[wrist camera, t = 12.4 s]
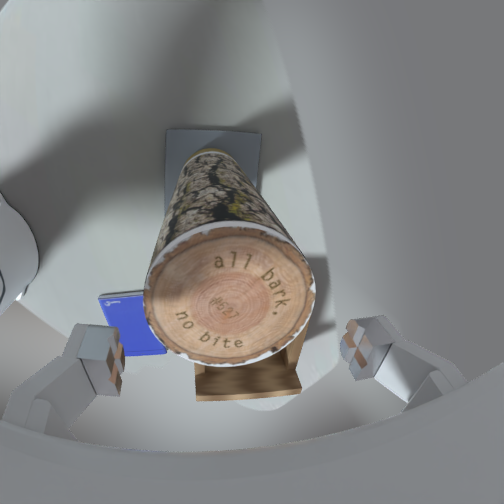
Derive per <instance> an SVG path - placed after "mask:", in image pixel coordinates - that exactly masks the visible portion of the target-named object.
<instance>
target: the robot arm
mask: <svg viewBox="0 0 504 504" xmlns="http://www.w3.org/2000/svg"><path fill="white" fill-rule="evenodd" d="M38 261H39V260H38V250H37V245H36V242H35V239H34V236H33V234H32V232H31V230H30V228H29V226H28V225H27V223H26V222H25V220H24V219H23V218H22V216H21V215H20V214H19V213H18V212H17V211H15V210H14V209H13V208H12V207H10V206H9V205H8V204H7V203H6V201H5V199H4V198H3V196H2V194H1V193H0V315H1V314H2V313H3V312H4V311H5V310H6V309H7V308H8V306H9V305H10V304H11V303H12V302H13V301H14V300H20V299H21V298H22V297H23V296H24V293H25V289H26V286H27V285H28V284H29V283H30V282H31V281H32V280H33V279H34V277H35V275H36V273H37V270H38ZM346 329H347V331H348V332H347V333H346V334H345V335H344V336H343V337H342V340H341V343H340V351H341V355H342V357H343V359H344V360H345V361H347V362H348V363H350V366H349V370H350V371H351V373H352V375H353V377H354V379H355V380H356V381H357V380H362V379H367V378H372V377H374V379H376V380H377V381H378V382H380V383H381V384H382V385H384V386H385V387H386V388H388V389H389V390H390V391H392V392H393V393H394V394H396V395H397V396H398V397H400V398H401V399H402V400H404V401H405V402H407V405H406V406H405V407H404V409H403V410H402V412H401V413H399V414H397V415H394V416H391V417H388V418H386V419H383V420H379V421H376V422H374V423H370V424H367V425H364V426H360V427H357V428H353V429H350V430H346V431H342V432H338V433H334V434H330V435H326V436H322V437H317V438H313V439H307V440H302V441H297V442H291V443H286V444H279V445H273V446H266V447H258V448H248V449H238V450H225V451H202V452H169V451H168V452H167V451H147V450H135V449H124V448H115V447H108V446H101V445H94V444H88V443H83V442H78V440H77V439H76V437H75V436H74V435H73V434H72V433H71V431H70V430H69V428H70V427H71V425H72V424H73V423H74V422H75V420H76V419H77V418H78V417H79V416H80V415H81V414H82V413H83V411H84V410H85V409H86V408H87V407H88V406H89V404H90V403H91V402H92V401H93V400H94V399H95V397H96V395H105V396H120V391H121V385H122V380H121V377H120V374H121V373H122V372H124V367H125V353H124V348H123V345H122V344H121V343H120V342H119V339H120V332H119V329H118V328H117V327H115V326H103V325H92V324H90V325H88V324H79V323H77V324H76V325H75V326H74V328H73V330H72V332H71V335H70V337H69V340H68V342H67V344H66V347H65V349H64V352H63V354H62V357H61V356H58V357H56V358H55V359H54V360H52V361H51V362H50V363H48V364H47V365H46V366H44V367H43V368H42V369H40V370H39V371H38V372H36V373H35V374H34V375H32V376H31V377H30V378H28V379H27V380H26V381H25V382H23V383H22V384H21V385H19V386H18V387H17V388H16V389H14V390H13V391H12V393H11V396H10V399H9V401H8V404H7V407H6V410H5V412H4V415H3V418H2V420H0V504H504V362H502V363H501V364H499V365H498V366H496V367H494V368H493V369H491V370H490V371H488V372H486V373H484V374H483V375H481V376H479V377H477V378H476V379H474V380H472V381H470V382H467V380H466V379H465V378H464V376H463V375H462V374H461V373H460V371H459V370H458V369H457V368H456V366H455V365H454V364H453V363H452V362H450V361H448V360H446V359H444V358H442V357H440V356H438V355H436V354H434V353H432V352H430V351H429V350H426V349H425V348H423V347H420V346H419V345H417V344H415V343H413V342H411V341H409V340H406V341H405V340H404V338H403V337H402V336H401V334H400V333H399V332H398V331H397V329H396V328H395V327H394V326H393V324H392V323H391V322H390V321H389V319H388V318H387V317H386V316H384V315H381V316H373V317H368V318H359V319H351V320H350V321H349V322H348V324H347V326H346Z"/></svg>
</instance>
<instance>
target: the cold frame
mask: <svg viewBox="0 0 504 504" xmlns="http://www.w3.org/2000/svg"><path fill="white" fill-rule="evenodd" d="M311 314H312V313H311ZM310 317H311V315H310ZM309 321H310V318H309V320H308V322H307V323H306V325H305V327H304V328H303V329H302V331H301V332H300V333H299V334H298V336H297V337H296V338H295V339H294V340H293V341H292V342H291V343H289V344H288V345H287V346H286V347H284V348H283V349H281V350H280V351H278V352H277V353H275V354H273V355H271V356H269V357H267V358H265V359H262V360H260V361H257V362H254V363H250V364H246V365H240V366H232V367H215V366H207V365H202V364H198V363H195V362H194V366H195V385H196V401H225V400H243V399H257V398H268V397H277V396H286V395H294V394H300V393H301V390H302V386H301V384H300V381H299V378H298V376H297V373H296V370H295V369H296V366H297V362H298V359H299V356H300V353H301V349H302V346H303V342H304V339H305V335H306V332H307V328H308V325H309Z"/></svg>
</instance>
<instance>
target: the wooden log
mask: <svg viewBox="0 0 504 504" xmlns="http://www.w3.org/2000/svg"><path fill="white" fill-rule="evenodd" d="M315 294H316V290H315V281H314V276H313V273H312V270H311V268H310V266H309V264H308V262H307V261H306V259H305V257H304V255H303V254H302V252H301V251H300V249H299V248H298V246H297V245H296V244H295V242H294V241H293V239H292V238H291V236H290V235H289V234H288V232H287V231H286V229H285V228H284V226H283V225H282V224H281V222H280V221H279V219H278V218H277V217H276V215H275V214H274V212H273V211H272V210H271V208H270V207H269V206H268V204H267V203H266V201H265V200H264V199H263V197H262V196H261V195H260V193H259V192H258V190H257V189H256V188H255V186H254V185H253V184H252V182H251V181H250V180H249V178H248V177H247V176H246V174H245V173H244V172H243V170H242V169H241V168H240V166H239V165H238V164H237V162H236V161H235V160H234V159H233V158H232V156H230V155H229V154H228V153H226V152H225V151H222V150H220V149H215V148H207V149H202V150H200V151H197V152H196V153H194V154H193V155H191V156H190V157H189V158H188V160H187V161H186V162H185V164H184V166H183V169H182V171H181V173H180V176H179V179H178V181H177V184H176V187H175V189H174V192H173V195H172V198H171V201H170V203H169V206H168V209H167V212H166V215H165V218H164V221H163V224H162V227H161V230H160V233H159V236H158V240H157V243H156V246H155V249H154V252H153V256H152V259H151V263H150V266H149V269H148V273H147V276H146V280H145V286H144V292H143V309H144V314H145V318H146V320H147V323H148V325H149V327H150V329H151V331H152V332H153V334H154V335H155V337H156V338H157V339H158V340H159V341H160V342H161V343H162V344H163V345H164V346H165V347H166V348H167V349H169V350H170V351H171V352H173V353H175V354H176V355H178V356H180V357H182V358H184V359H186V360H189V361H191V362H195V363H198V364H202V365H207V366H215V367H232V366H240V365H246V364H250V363H254V362H257V361H260V360H262V359H265V358H267V357H269V356H271V355H273V354H275V353H277V352H278V351H280V350H281V349H283V348H284V347H286V346H287V345H288V344H289V343H291V342H292V341H293V340H294V339H295V338H296V337H297V336H298V334H299V333H300V332H301V331H302V329H303V328H304V327H305V325H306V323H307V322H308V320H309V318H310V315H311V313H312V310H313V307H314V302H315Z"/></svg>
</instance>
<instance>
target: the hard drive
mask: <svg viewBox="0 0 504 504" xmlns="http://www.w3.org/2000/svg"><path fill="white" fill-rule="evenodd" d="M143 292H144V291H141V292H131V293H122V294H112V295H102V296H99V298H98V300H99V303H100V305H101V308H102V310H103V313H104V315H105V317H106V320H107V322H108V324H109V326H115V327H117V328H118V329H119V332H120V339H119V342H120V343H121V344H122V345H123V348H124V353H125V356H143V355H158V354H166V353H167V348H166V347H165V346H164V345H163V344H162V343H161V342H160V341H159V340H158V339H157V338H156V337H155V335H154V334H153V332H152V331H151V329H150V327H149V325H148V323H147V320H146V318H145V314H144V309H143Z"/></svg>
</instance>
